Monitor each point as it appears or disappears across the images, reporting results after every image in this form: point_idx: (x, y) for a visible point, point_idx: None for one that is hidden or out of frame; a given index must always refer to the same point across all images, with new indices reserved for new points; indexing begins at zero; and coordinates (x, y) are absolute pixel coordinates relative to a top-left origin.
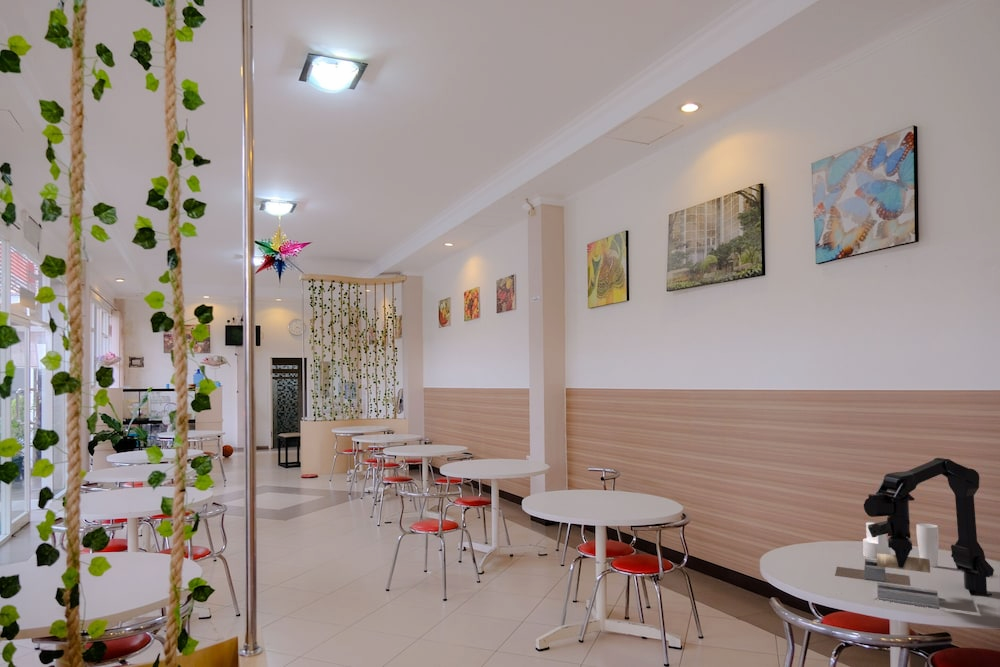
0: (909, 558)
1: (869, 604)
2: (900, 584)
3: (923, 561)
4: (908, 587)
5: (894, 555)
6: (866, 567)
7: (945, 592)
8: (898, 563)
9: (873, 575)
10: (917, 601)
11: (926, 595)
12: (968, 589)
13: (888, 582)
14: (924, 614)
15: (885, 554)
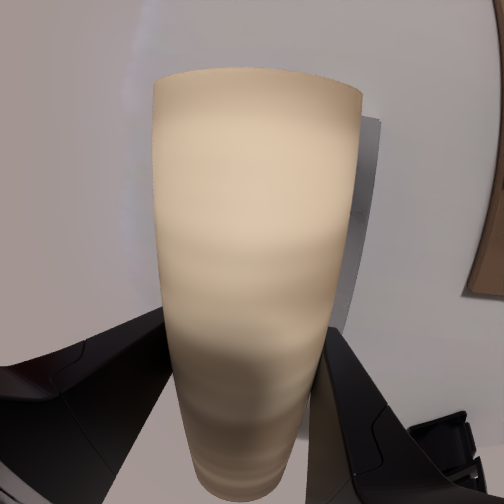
0: (195, 437)
1: (145, 80)
2: (484, 254)
3: (196, 470)
4: (342, 281)
5: (216, 354)
6: None
7: (434, 382)
8: (147, 318)
9: None
10: None
11: None
12: (430, 431)
13: (502, 205)
14: (133, 272)
15: (213, 231)
